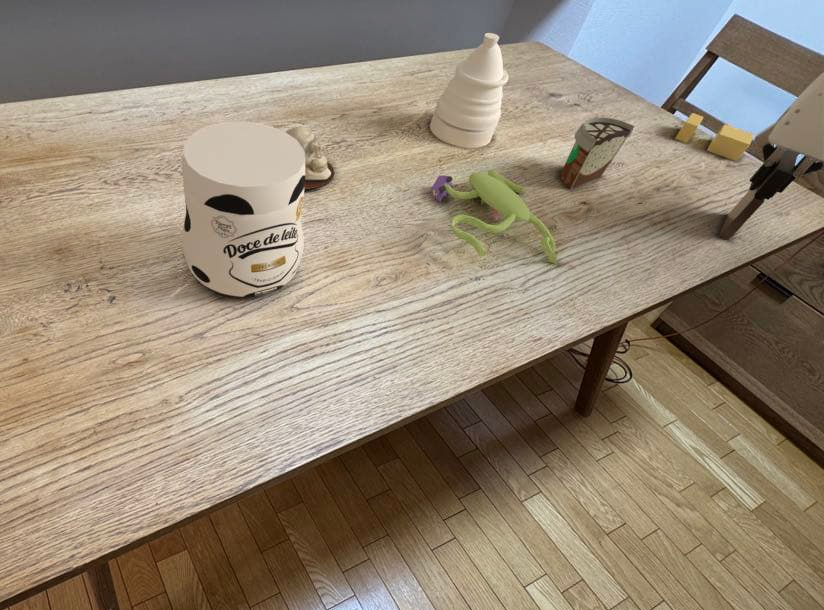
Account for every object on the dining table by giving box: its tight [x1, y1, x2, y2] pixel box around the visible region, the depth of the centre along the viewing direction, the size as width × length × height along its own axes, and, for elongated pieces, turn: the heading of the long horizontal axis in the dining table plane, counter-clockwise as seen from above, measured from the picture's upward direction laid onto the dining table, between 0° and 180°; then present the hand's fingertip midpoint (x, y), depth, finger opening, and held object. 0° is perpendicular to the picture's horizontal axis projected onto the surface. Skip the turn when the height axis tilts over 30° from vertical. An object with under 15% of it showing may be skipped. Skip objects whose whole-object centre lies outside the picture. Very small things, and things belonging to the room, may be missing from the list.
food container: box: [559, 116, 636, 190], centre depth 96 cm, size 12×6×10 cm, turn 123°
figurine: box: [431, 169, 558, 265], centre depth 87 cm, size 18×27×6 cm
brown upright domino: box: [718, 188, 766, 241], centre depth 91 cm, size 2×9×8 cm, turn 143°
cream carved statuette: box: [285, 126, 335, 190], centre depth 92 cm, size 12×10×10 cm
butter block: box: [706, 123, 755, 162], centre depth 110 cm, size 6×6×4 cm
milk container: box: [181, 121, 305, 299], centre depth 70 cm, size 17×17×18 cm
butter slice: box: [674, 112, 704, 144], centre depth 112 cm, size 2×6×4 cm, turn 142°
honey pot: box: [429, 32, 509, 149], centre depth 100 cm, size 13×13×18 cm
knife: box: [754, 149, 799, 201], centre depth 87 cm, size 17×2×4 cm, turn 143°
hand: (761, 189), depth 88 cm, fingers closed on knife, 2 cm apart
